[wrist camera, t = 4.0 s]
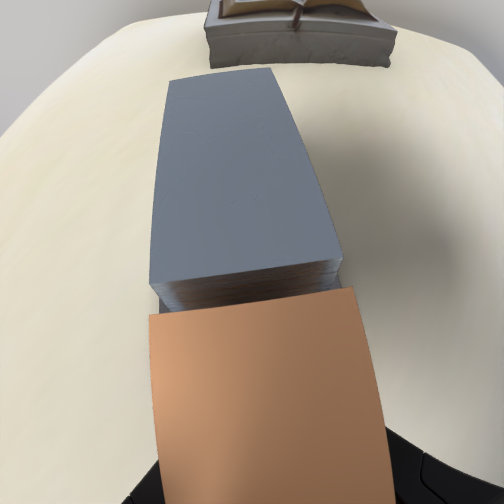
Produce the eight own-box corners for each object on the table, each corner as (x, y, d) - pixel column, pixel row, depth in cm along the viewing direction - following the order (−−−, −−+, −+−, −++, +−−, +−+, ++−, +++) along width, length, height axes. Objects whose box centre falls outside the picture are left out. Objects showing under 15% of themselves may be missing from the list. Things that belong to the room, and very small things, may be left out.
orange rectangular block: (322, 492, 8) (398, 580, 2) (237, 505, 8) (193, 611, 2) (302, 366, 10) (352, 286, 4) (219, 377, 10) (148, 314, 4)
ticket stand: (373, 476, 12) (545, 533, 1) (184, 504, 12) (40, 608, 1) (324, 250, 19) (369, 62, 8) (165, 272, 19) (72, 102, 8)
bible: (398, 87, 31) (413, 19, 22) (182, 74, 33) (169, 6, 25) (365, 31, 42) (371, -13, 34) (220, 23, 45) (215, -22, 36)
